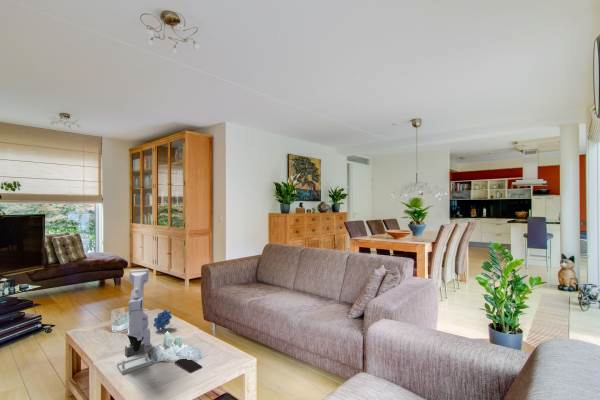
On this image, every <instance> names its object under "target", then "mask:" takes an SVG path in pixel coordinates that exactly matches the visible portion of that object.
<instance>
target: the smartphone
mask: <svg viewBox="0 0 600 400" xmlns="http://www.w3.org/2000/svg"><path fill="white" fill-rule="evenodd" d="M174 365H176V367H177V366H178V367H180V368H181V369H182V370H184V371H186V372H187V373H189V374H193V373H194V372H196V371H198V370H200V369H202V368H203V366H202V365H201V364H199V363H198V362H196V361H194V359H191V360H187V359H181V358H180V359H177V360H175V361H174Z"/></svg>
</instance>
